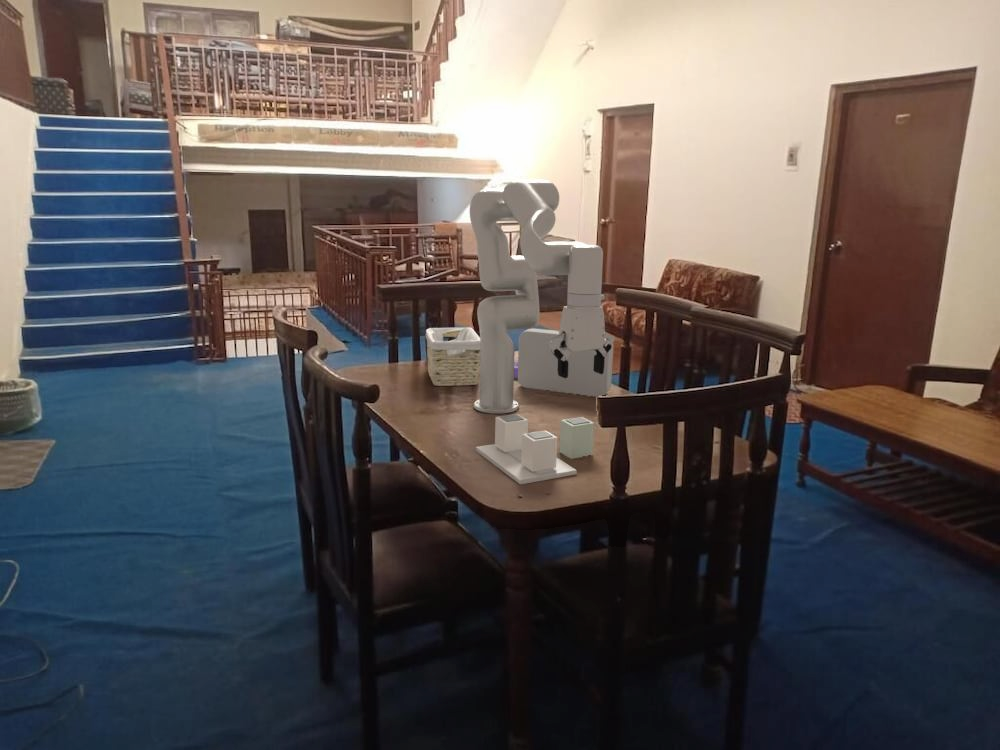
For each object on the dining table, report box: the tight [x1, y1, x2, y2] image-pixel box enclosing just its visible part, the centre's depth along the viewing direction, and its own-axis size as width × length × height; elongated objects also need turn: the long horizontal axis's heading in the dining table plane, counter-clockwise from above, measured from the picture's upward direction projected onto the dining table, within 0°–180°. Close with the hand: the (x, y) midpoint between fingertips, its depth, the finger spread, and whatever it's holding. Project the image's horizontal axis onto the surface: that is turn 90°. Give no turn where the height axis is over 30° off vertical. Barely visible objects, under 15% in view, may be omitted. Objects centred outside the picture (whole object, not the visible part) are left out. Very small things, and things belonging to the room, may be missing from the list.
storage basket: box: [425, 326, 480, 387], centre depth 237 cm, size 24×16×15 cm
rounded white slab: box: [517, 327, 615, 398], centre depth 226 cm, size 29×8×18 cm, turn 67°
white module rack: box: [475, 413, 577, 485], centre depth 166 cm, size 22×14×9 cm, turn 27°
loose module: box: [559, 416, 595, 459], centre depth 173 cm, size 5×6×8 cm
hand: (580, 374), depth 169 cm, fingers open, 9 cm apart
